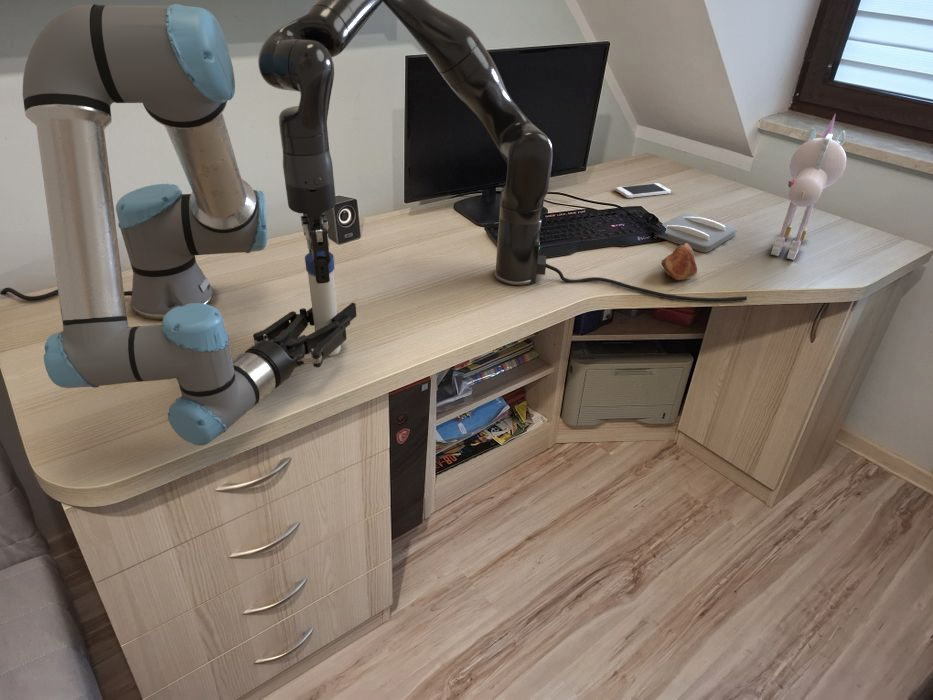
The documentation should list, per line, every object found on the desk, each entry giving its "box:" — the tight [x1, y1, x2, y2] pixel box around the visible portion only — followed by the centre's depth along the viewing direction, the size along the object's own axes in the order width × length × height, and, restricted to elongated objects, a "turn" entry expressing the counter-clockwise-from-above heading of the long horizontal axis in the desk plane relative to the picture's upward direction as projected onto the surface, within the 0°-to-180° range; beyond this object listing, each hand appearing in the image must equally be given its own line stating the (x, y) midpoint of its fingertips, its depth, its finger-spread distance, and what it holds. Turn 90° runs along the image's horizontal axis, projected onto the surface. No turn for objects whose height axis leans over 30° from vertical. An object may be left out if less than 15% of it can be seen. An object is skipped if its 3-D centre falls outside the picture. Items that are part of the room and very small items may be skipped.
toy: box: [770, 112, 847, 261], centre depth 159 cm, size 12×36×30 cm, turn 148°
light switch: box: [654, 212, 737, 253], centre depth 167 cm, size 18×3×15 cm
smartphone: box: [615, 182, 672, 199], centre depth 194 cm, size 7×16×1 cm, turn 111°
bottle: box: [307, 270, 342, 357], centre depth 113 cm, size 4×4×18 cm
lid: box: [304, 251, 335, 274], centre depth 108 cm, size 5×5×2 cm
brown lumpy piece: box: [660, 243, 698, 281], centre depth 146 cm, size 13×8×10 cm
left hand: (342, 306), depth 118 cm, fingers closed on bottle, 4 cm apart
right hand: (319, 271), depth 109 cm, fingers open, 7 cm apart
